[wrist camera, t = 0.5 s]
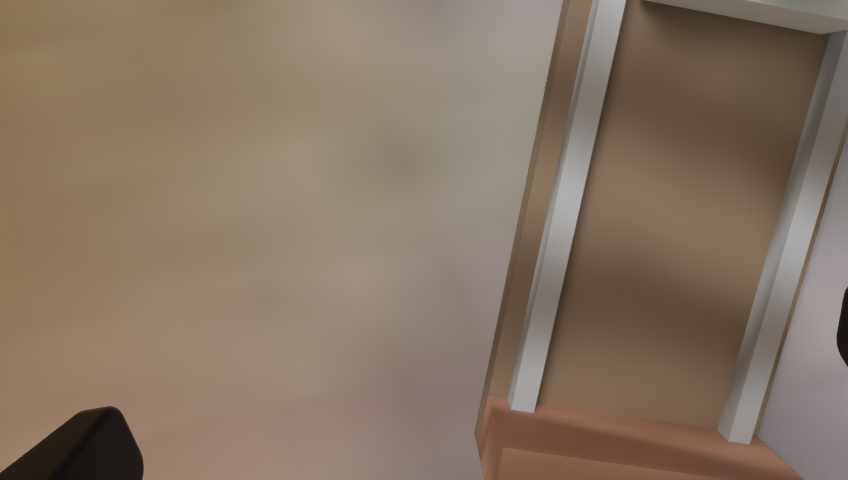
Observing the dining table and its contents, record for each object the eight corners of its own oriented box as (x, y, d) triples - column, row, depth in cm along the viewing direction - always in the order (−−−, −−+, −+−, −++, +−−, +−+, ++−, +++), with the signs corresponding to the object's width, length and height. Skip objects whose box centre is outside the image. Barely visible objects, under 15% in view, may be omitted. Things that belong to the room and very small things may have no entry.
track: (728, 469, 25) (799, 548, 20) (474, 433, 24) (490, 506, 20) (929, -217, 20) (1077, -308, 16) (621, -286, 19) (686, -401, 15)
